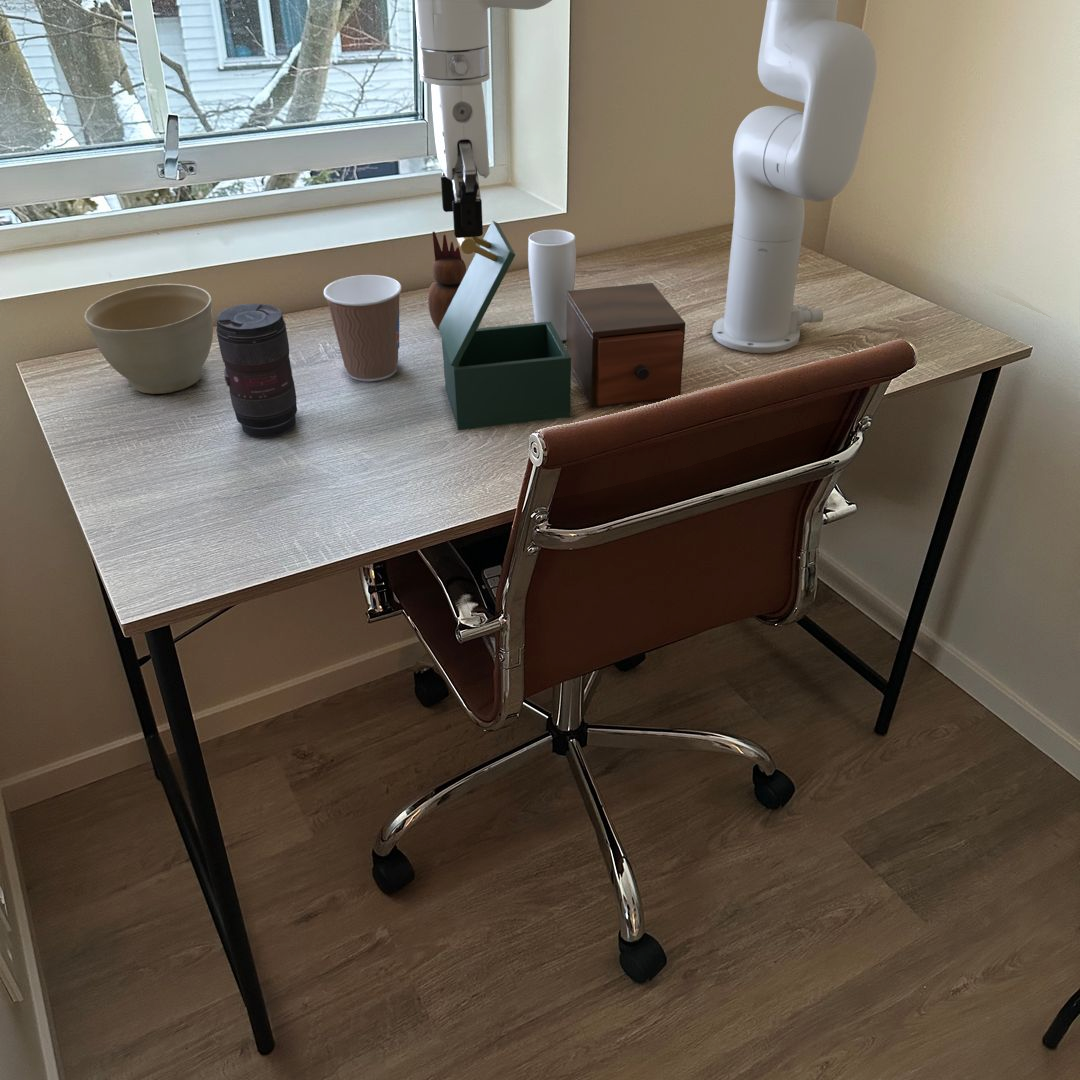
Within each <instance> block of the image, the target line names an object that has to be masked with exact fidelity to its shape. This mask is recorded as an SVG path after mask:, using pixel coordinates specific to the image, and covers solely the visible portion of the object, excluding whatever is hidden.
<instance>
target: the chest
mask: <svg viewBox="0 0 1080 1080" xmlns="http://www.w3.org/2000/svg"><path fill="white" fill-rule="evenodd" d="M441 347H442V361H443V374H444V387H445V392H446V396H447V399H448V402H449V406H450V409H451V411H452V415H453V418H454V422H455V425H456V429H457V431H463V430H472V429H481V428H488V427H489V428H490V427H498V426H505V425H513V424H514V425H515V424H523V423H531V422H540V421H541V422H542V421H549V420H557V419H558V420H559V419H566V418H571V417H572V372H571V357H570V355H569V353H568V352H567V347H566V346H565V344H564V343H563V341H561V339H560V337H559V336H558V334H557V332H556V330H555V329H554V327H553V325H552V323H551V322H540V323H534V322H530V323H521V324H511V325H510V324H509V325H500V326H492V327H491V326H490V327H480V328H477V329H476V331H475V333H474V335H473V337H472V339H471V341H470V343H469V345H468V347H467V349H466V350H465V352H464V354H463V356H462V358H461V360H460V362H459V364H458V366H457V367H454V366H451V364H450V361H449V358H448V355H447V352H446V349H445V346H444V343H443V340H442V339H441Z"/></svg>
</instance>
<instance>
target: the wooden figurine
mask: <svg viewBox="0 0 1080 1080" xmlns="http://www.w3.org/2000/svg"><path fill="white" fill-rule="evenodd" d="M432 242H433V252H434V260H433V262H432V276H433V279H434V280H435V281H434V282H432V283H431V284H430V286H429V288H428V294H427V305H428V312H429V316H430V319H431V321H432V323H433V325H434V327H435V328H436V329H437V331H439V326H440V324H441V322H442V320H443V318H444V316H445V314H446V312H447V310H448V308H449V306H450V304H451V302H452V300H453V298H454V296H455V294H456V292H457V290H458V288H459V286H460V284H461V282H462V280H463V278H464V276H465V274H466V272H467V266H466V263H465V261H464V260H463V259H462V255H461V251H460V250H461V249H460V246H457V247H456V248H455V246H454V242H453V241H450V246H449V245H448V240H447V235H446V234H443V238H442V247H441V245H440V243H439V240H438V237H437V234H436V231H432Z"/></svg>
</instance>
